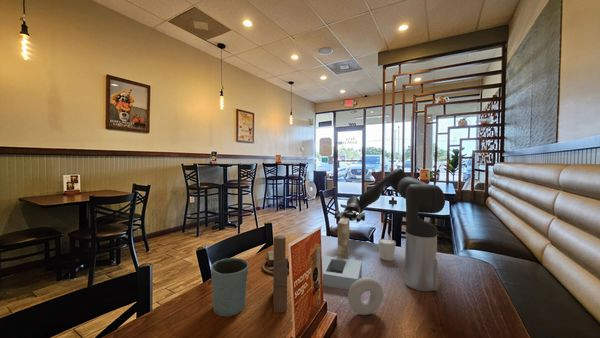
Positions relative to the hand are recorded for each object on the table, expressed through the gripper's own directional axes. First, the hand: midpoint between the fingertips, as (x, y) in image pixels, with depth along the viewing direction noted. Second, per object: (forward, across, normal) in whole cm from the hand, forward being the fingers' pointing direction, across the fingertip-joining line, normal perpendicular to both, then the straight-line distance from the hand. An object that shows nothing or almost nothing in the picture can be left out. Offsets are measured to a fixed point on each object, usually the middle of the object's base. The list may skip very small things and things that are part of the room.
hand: (347, 219), depth 114 cm
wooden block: (+49, -13, +13) cm, 52 cm away
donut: (+47, +11, +13) cm, 50 cm away
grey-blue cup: (+56, -25, +13) cm, 62 cm away
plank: (+13, 0, +14) cm, 18 cm away
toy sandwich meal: (+28, -22, +14) cm, 38 cm away
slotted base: (+29, 0, +13) cm, 31 cm away
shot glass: (+5, +17, +14) cm, 22 cm away
